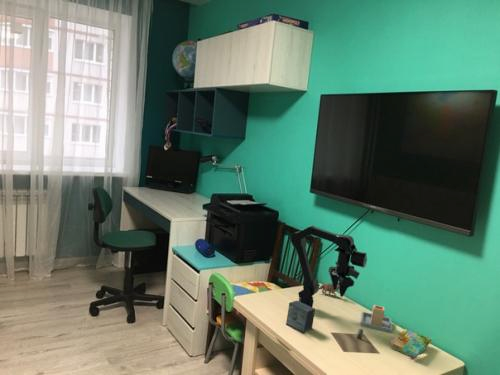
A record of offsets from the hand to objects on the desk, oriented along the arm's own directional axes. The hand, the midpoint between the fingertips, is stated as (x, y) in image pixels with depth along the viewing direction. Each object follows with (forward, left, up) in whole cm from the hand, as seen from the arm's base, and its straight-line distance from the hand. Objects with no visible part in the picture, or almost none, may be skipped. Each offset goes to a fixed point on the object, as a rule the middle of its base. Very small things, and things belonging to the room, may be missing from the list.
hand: (338, 292), depth 198 cm
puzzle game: (+26, -25, -14) cm, 39 cm away
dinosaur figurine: (+8, +30, -13) cm, 34 cm away
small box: (-21, -12, -13) cm, 28 cm away
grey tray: (+20, -5, -13) cm, 24 cm away
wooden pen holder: (+20, -5, -12) cm, 24 cm away
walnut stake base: (0, -25, -13) cm, 28 cm away
